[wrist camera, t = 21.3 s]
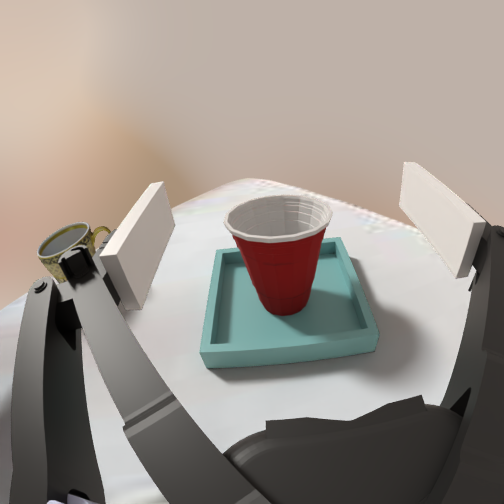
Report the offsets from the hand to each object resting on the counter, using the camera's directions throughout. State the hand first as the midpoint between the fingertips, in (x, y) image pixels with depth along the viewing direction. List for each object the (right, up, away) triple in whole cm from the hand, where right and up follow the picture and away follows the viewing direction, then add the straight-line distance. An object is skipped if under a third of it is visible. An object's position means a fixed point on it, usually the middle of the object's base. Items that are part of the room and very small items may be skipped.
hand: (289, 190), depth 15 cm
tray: (+2, -10, +21) cm, 23 cm away
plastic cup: (+2, -9, +21) cm, 23 cm away
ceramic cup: (-29, -9, +29) cm, 42 cm away
